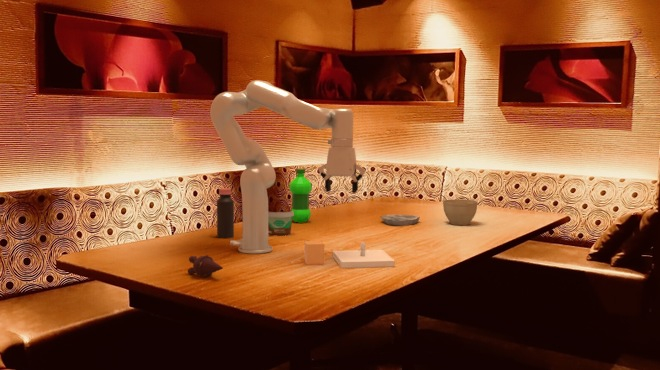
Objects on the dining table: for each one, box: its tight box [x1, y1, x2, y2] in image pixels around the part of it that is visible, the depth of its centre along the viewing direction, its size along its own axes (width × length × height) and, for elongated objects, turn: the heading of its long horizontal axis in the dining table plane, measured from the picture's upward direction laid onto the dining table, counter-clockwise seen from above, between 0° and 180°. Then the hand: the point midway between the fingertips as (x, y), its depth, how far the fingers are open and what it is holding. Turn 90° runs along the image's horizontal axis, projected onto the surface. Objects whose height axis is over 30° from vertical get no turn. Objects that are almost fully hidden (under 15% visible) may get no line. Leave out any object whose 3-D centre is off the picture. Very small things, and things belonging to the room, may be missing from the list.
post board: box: [332, 241, 396, 269], centre depth 222 cm, size 18×18×6 cm
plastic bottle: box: [289, 168, 313, 224], centre depth 301 cm, size 10×10×25 cm
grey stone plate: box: [380, 214, 421, 227], centre depth 303 cm, size 20×17×3 cm
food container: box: [268, 210, 294, 237], centre depth 269 cm, size 12×6×10 cm, turn 105°
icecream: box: [187, 255, 224, 279], centre depth 198 cm, size 7×7×15 cm
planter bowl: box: [442, 198, 479, 226], centre depth 301 cm, size 16×16×11 cm
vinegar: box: [216, 187, 235, 239], centre depth 262 cm, size 7×7×20 cm
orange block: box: [303, 240, 325, 266], centre depth 219 cm, size 6×6×7 cm
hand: (341, 192), depth 227 cm, fingers open, 9 cm apart
